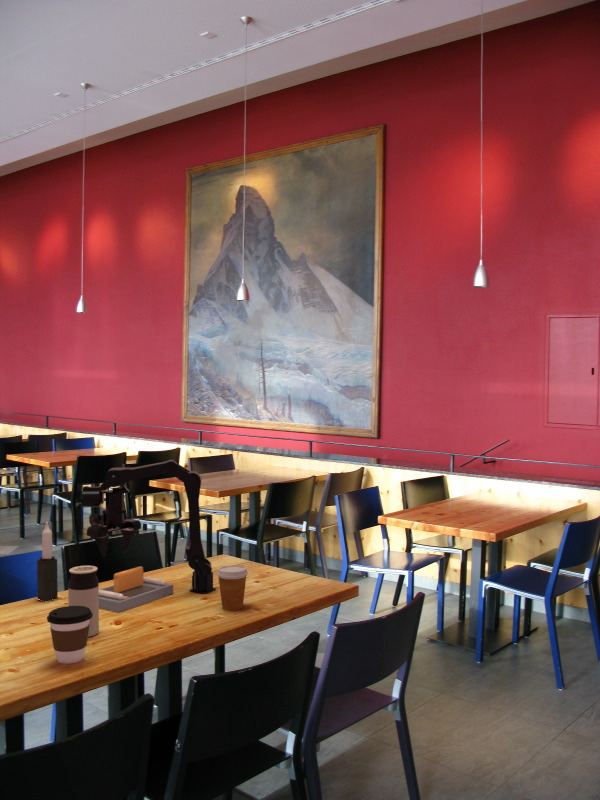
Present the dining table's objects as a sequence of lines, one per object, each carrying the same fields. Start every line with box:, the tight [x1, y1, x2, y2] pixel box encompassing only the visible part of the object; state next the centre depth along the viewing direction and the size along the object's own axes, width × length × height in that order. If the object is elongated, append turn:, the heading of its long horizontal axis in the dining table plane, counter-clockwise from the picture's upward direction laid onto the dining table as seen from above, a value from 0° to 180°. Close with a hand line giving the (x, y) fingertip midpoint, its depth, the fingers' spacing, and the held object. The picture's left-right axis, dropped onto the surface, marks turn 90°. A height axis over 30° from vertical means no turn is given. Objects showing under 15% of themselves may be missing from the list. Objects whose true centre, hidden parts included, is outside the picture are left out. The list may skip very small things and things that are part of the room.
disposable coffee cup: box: [216, 565, 249, 611], centre depth 227 cm, size 10×10×12 cm
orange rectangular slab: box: [113, 566, 144, 593], centre depth 237 cm, size 2×11×6 cm, turn 148°
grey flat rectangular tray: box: [99, 575, 174, 613], centre depth 237 cm, size 16×24×5 cm, turn 148°
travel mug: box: [67, 565, 100, 638], centre depth 203 cm, size 8×8×18 cm
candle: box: [36, 521, 59, 602], centre depth 237 cm, size 5×5×25 cm
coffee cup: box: [46, 605, 93, 665], centre depth 184 cm, size 11×11×12 cm
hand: (114, 554), depth 242 cm, fingers open, 9 cm apart
